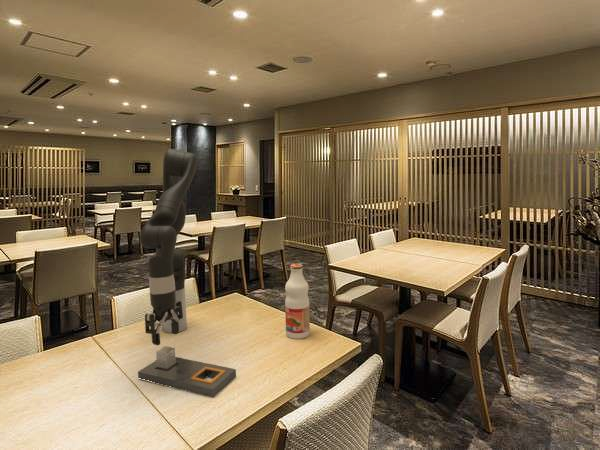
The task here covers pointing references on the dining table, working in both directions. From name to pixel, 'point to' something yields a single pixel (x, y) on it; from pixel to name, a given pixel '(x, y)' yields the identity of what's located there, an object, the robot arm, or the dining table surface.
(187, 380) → the grey board with holes
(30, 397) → the dining table surface
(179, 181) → the robot arm
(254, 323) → the dining table surface
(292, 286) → the fruit juice
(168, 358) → the grey square peg
